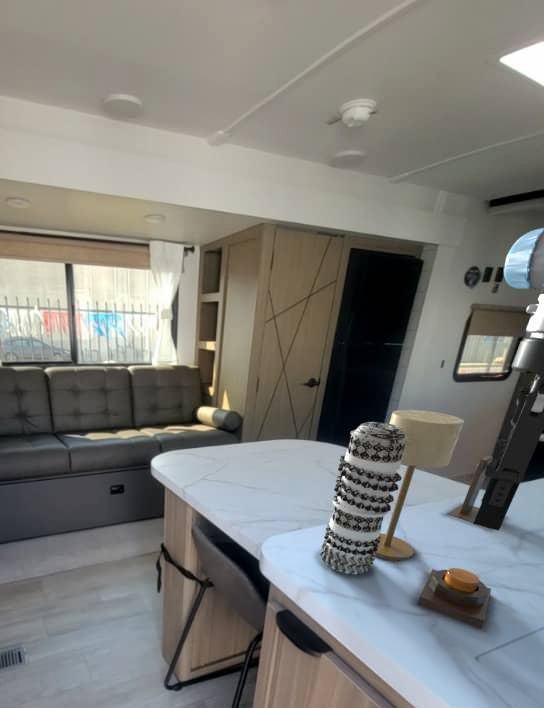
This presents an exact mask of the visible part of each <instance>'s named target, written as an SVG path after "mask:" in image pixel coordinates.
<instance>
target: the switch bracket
mask: <svg viewBox="0 0 544 708" xmlns="http://www.w3.org/2000/svg"><path fill="white" fill-rule="evenodd" d="M493 459H494V456H492V455H485V456H484V457H482V458H480V459H479V462H477V464H476V468H475V469H476V470H475V472H474V474H473V477H472V480H471V482H470V485H469V488H468V490H467V492H466V496H465V499H464V501H463V503H462V504H461V505H459V506H457V507H455V508H454V509H452V510H451V511H449V512H448V513H446V515H447V516H450V517H454V518H457V519H459V520H463V521H466V522H469V523H472V524H473V523H474V520H475V518H476V516H477V513H478V511H479V508H480V507H477V506H475V503H476V500H477V498H478V496H479V493H480V491H481V488H482V485H483V483H484V481H485V478H486V476H487V475H485V471H486V468H487V465H488V464H489V463H490V462H491V461H492V460H493Z"/></svg>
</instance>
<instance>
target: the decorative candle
mask: <svg viewBox="0 0 544 708" xmlns="http://www.w3.org/2000/svg"><path fill="white" fill-rule="evenodd" d="M349 433H350V439H349V443H348V448H347V449H346V452H345V454H344V455H341V456H340V458H339V462H340V463H338V467H337V471H338V472H339V474H338V475H336V480H335V482H336V483H335V486H334V488H333V492H335V494H334V495H333V499H332V503H333V505H334V507H333V512H332V514H331V516H330V519H329V523H327V525H326V527H325V531H326V532H325V535H324V536H323V538H324V540H323V541H322V544H321V549H320V552H319V555H320V557H321V560H322V562H323V563H324V564H326V565H327V566H328V568H330V569H332V570H334V571H337V572H340V573H343V574H346V575H347V574H348V575H360V574H361V575H362V574H365V573H366V572H367V573H368V572H369V570H371V569H373V568H374V566H373V564H374V562H375V560H376V558H375V557H377V556H376V554H375V553H374V552H376V551H377V550H378V549H377V547H378V543H380V539H381V537H380V536H379V535H380V533H381V532H382V523H383V521H384V517H385V516H387V515H388V514H389V512H390V511H391V510H392V508H391V507H392V506H391V505H390V504H391V503H393V502H394V501H395V497H394V496H393V495H392V494H391V493H393V492H396V491H398V490H399V485H398V484H397V482H400V481H402V475H400V474H399V473H398V471H399V470H400V469H401V466H402V463H401V462H402V458H401V457H402V454H403V451H404V447H405V444H406V442H409V439H408V438H407V437H405V435H404V432H403V430H402V429H401V428H400V427H398V426H395V425H392V424H389V423H386V422H377V421H367V422H363V423H361V424H360V425H359V426H358V427H357V428H356V429H353V430H351V431H350V432H349Z"/></svg>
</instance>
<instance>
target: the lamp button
mask: <svg viewBox="0 0 544 708" xmlns="http://www.w3.org/2000/svg"><path fill="white" fill-rule="evenodd" d="M447 570H448V571H447V573H446V576H445V578H444V582H445V583H446V584H448V585H449V586H451V587H453V588H455V589H458V590H461V591H464V592H474V591H475V590H476V588H477V586H478V584H479V581H481V580H480V578H479V576H477V575H476V574H475V573H473V572H472V571H470V570H466V569H463V568H458V567H451V568H449V569H447Z"/></svg>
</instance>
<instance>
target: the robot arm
mask: <svg viewBox="0 0 544 708" xmlns="http://www.w3.org/2000/svg"><path fill="white" fill-rule="evenodd" d="M503 276H504V277H503V278H504V279H505V282H506V283H507V284H508V285H509V286H510V287H512V288H514V289H517V290H519V289H520V290H521V289H523V290H524V289H525V290H527V289H529V290H530V291H534V290H535V291H536V290H537V289H540V293H539V296H538V298H537V301H538V302H539V303H531V304H529V305H528V306H527V307H526V310H525V312H526V313H527V314H534V315H532V316H530V318H529V321H528V322H527V323H528V324H527V325H526V329H525V331H526V332H527V333H529V334H530V336H529V337H528V338H527V337H525V338H523V340H520V343H519V346H518V348H517V350H516V353H515V355H514V358H513V361H512V363H511V369H512V370H513V371H515V372H519V373H522V374H523V373H524V374H532V375H533V374H535V377H534V379H533V381H531V382H530V383H529V384H528V385H527V386H521V388H520V392H519V394H518V397H517V399H516V402H515V404H516V408H515V410H514V412H513V415H512V418H511V421H510V425H511V426H512V427H511V430H510V432H509V435H508V437H507V440H506V441H507V442H506V444H504V446H502V451H501V452H500V454H499V455H500V457H501V458H502V459H499V458H498V459H497V460H498V462H497V464H496V467H495V469H494V471H493V472H489V471H488V474H487V475H486V476H485V478H489V482H488V484H487V487H486V489H485V491H484V493H483V496H482V499H481V504H480V506H479V507H478V508H479V511H478V513H477V516H476V518H475V520H474V523H472V524H473V525H476V526H479V527H483V528H487V529H489V530H490V529H491V530H495V531H499V532H500V529H501V526H502V524H503V522H504V520H505V518H506V516H507V513H508V511H509V508H510V506H511V505H512V503H513V500H514V498H515V496H516V493H517V491H518V489H519V486H520V484H521V483H522V482H523V481H524V480H525V477H526V476H525V474H526V471H527V469H528V466H529V464H530V462H531V460H532V457H533V455H534V453H535V450H536V449H537V446H538V443H539V441H540V438H541V437H542V434H543V432H544V227H541V228H537V229H532V230H531V231H528V232H526V233H525V234H523V235H522V236H521V237H519V238H518V239H517V240H516V241H515V242H514V244H513V245H512V246H511V248H510V249H509V251H508V253H507V255H506V257H505V263H504V267H503Z"/></svg>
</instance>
